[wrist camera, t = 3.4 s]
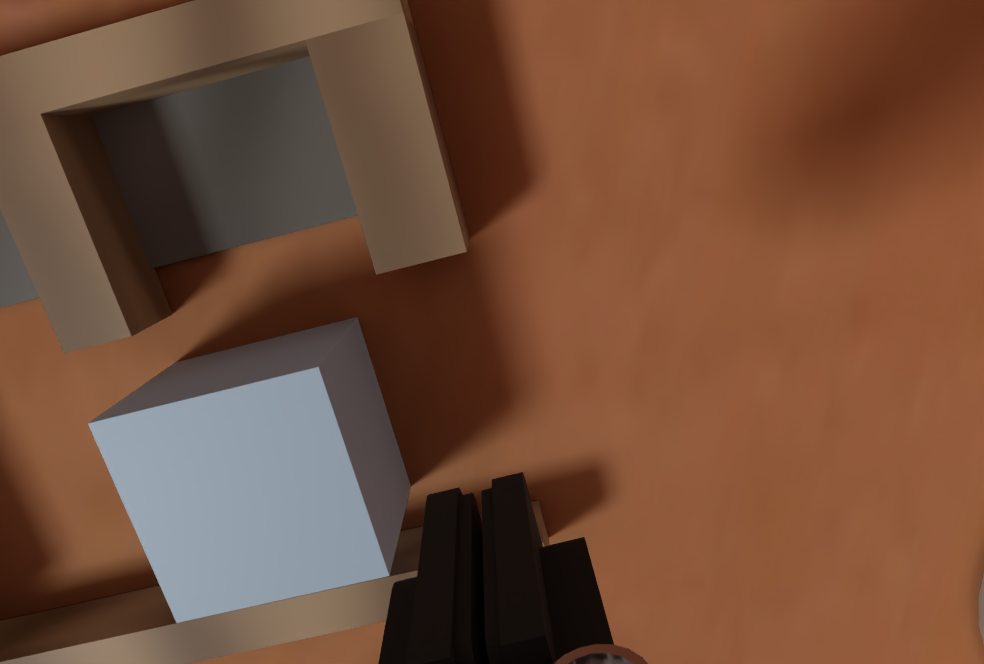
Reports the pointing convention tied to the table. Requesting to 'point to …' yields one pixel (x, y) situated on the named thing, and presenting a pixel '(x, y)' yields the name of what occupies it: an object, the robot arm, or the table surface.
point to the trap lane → (211, 224)
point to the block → (260, 471)
